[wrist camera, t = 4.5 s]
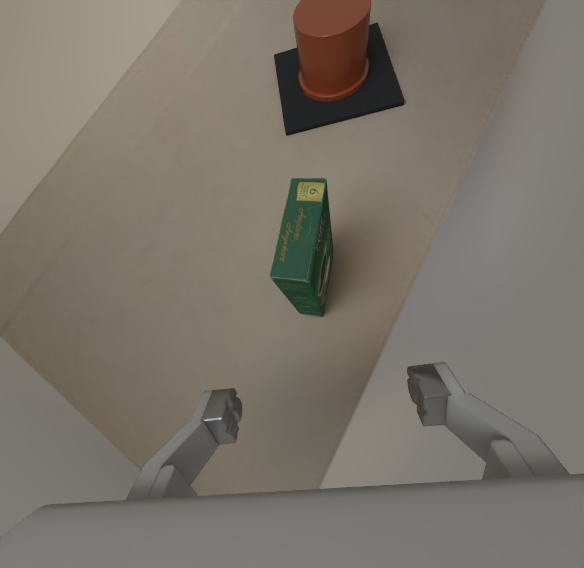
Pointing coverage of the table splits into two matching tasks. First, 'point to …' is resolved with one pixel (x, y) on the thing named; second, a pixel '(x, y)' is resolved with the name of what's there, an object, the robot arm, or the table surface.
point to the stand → (332, 47)
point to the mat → (368, 99)
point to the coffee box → (304, 246)
